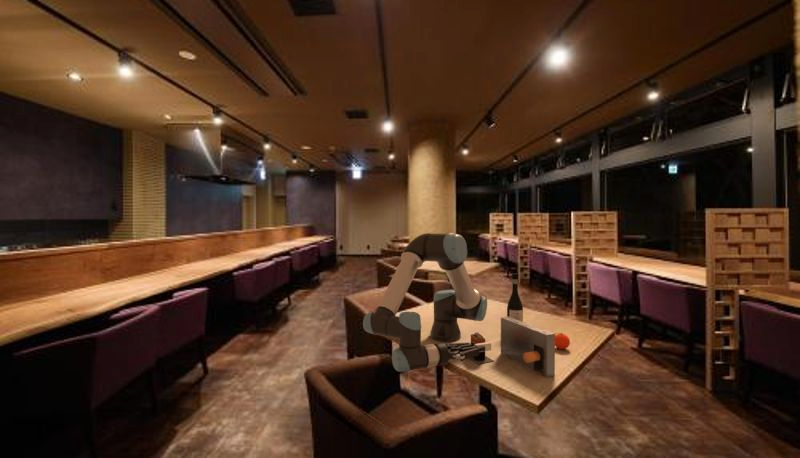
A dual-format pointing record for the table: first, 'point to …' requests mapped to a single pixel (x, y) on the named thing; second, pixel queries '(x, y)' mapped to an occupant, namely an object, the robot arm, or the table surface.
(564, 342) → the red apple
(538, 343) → the panel
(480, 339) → the battery
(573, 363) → the table surface
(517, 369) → the table surface
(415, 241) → the robot arm
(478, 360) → the mat
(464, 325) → the table surface
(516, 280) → the wine bottle
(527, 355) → the orange rounded cylinder
